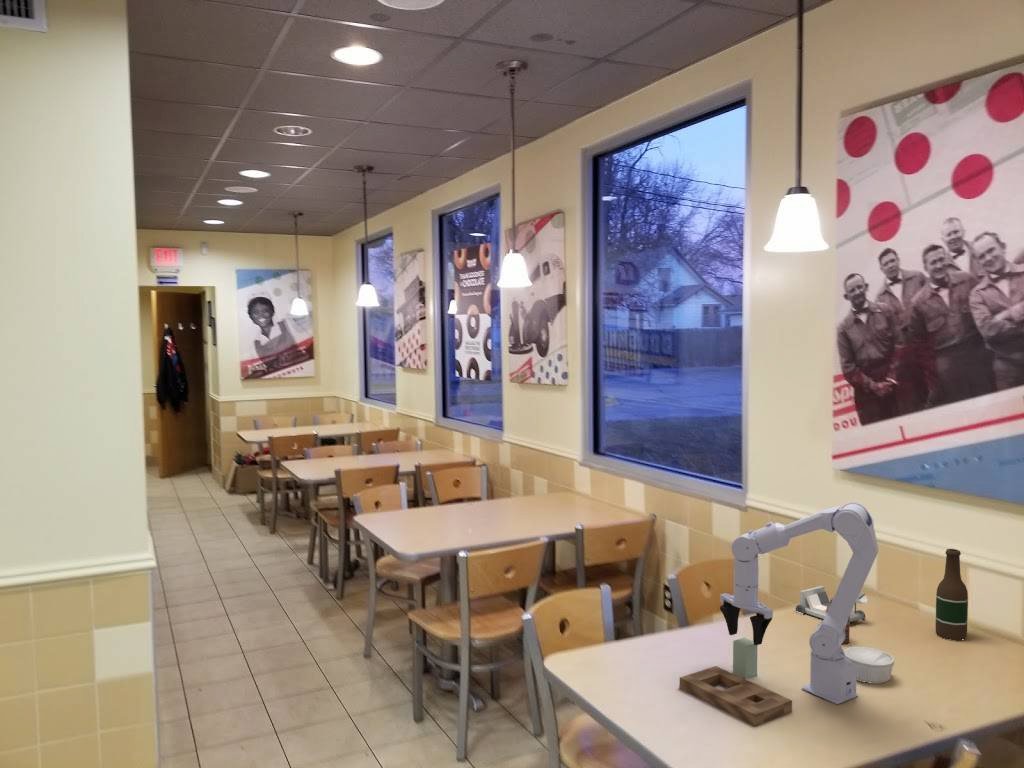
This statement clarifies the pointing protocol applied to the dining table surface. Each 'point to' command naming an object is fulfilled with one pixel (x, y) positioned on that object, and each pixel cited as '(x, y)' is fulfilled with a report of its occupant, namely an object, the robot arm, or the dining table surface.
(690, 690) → the socket board
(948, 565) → the beer bottle
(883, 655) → the ramekin
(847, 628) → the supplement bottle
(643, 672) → the dining table surface
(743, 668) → the peg
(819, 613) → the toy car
